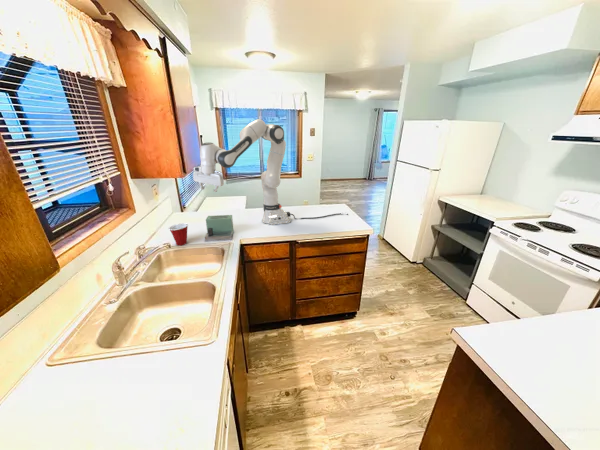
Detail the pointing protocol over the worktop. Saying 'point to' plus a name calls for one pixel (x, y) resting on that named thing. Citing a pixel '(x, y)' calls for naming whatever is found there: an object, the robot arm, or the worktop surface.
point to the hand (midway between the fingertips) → (208, 190)
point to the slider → (210, 231)
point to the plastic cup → (179, 233)
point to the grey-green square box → (219, 227)
